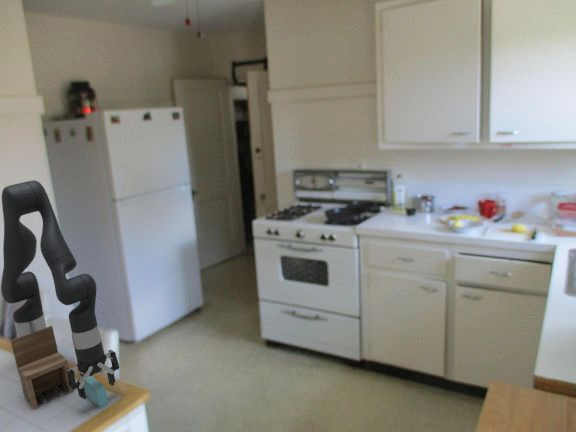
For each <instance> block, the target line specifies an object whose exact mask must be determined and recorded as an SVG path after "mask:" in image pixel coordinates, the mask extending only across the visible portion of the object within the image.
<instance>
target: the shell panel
mask: <svg viewBox="0 0 576 432" xmlns="http://www.w3.org/2000/svg"><path fill="white" fill-rule="evenodd" d="M79 374H80V373H78V374H77V375H78V376H79ZM83 387H84V389H85V394H86V397H88V398H89V399H90V400H91V401H92V402H93V404H95V405H96V406H97V407H98V408H99V409H102V408H105V407H106V406H108V405H109V400H108V396H107V395H108V394H107V390H106V386H104V385H103V384H102V383H101V382H100V381H99V380H98V379H96V378H95V377H94V375H92V376H89V377H88V379H87V381H85V383H84V386H83Z"/></svg>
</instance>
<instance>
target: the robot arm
mask: <svg viewBox="0 0 576 432" xmlns="http://www.w3.org/2000/svg"><path fill="white" fill-rule="evenodd" d="M52 206H53V205H52V203H51V201H50V198H49V196H48V193H47V191H46V189H45V187H44V186H43V185H42V184H41V183H40V181H37V180H35V179H34V180H29V181H24V182H19V183H14V184H11V185H7V186H4V188H3V189H2V191H1V207H2V217H3V249H2V250H3V251H2V253H3V254H2V255H3V267H2V268H3V269H2V274H1V280H0V281H1V282H0V291H1V296H2V298H3V300H4V301H5V302H6V303H8V304H16V303H20V302H23V301H25V302H24V303H23V304H22V305H21V306H20V307H18V308H17V309H16V310H15V311H14V312H13V314H12V316H13V321H14V325H15V326H14V327H15V329H16V334H17V338H19V337H21V336H24V335H27V334H30V333H32V332H35V331H38V330H41V329H43V328H46V327H47V324H46V319H45V314H44V311H43V304H42V303H43V302H42V300H41V293H40V292H41V291H40V286H39V282H38V279H37V276H36V275H35V273H33V271H30V270H29V271H26V269H27V268H28V267H29V266H30V265H31V264H32V262H33V261H34V259H35V257H36V254H37V242H38V241H37V237H36V235H35V234H34V233H33V232H32V230H31V229H29V227H27V226H26V225H24V224H23V223H22V222H21V220H20V219H21V217H22V216H24V215H28V214H33V213H36V212H39V214H40V216H41V221H42V230H41V237H40V242H39V245H40V246H39V247H40V252H41V255H42V257H43V259H44V261H45V263H46V265H47V266H48V268H49V270H50V273H51V276H52V281H53V284H54V290H55V296H56V299H57V300H58V302H60V303H61V304H62V305H65V306H71V305H74V304H76V303H78V302H79V303H78V305H76V307H74V308H73V309H71V311H70V312H68V321H69V325H70V330H71V338H72V345H73V349H74V353H75V356H76V361H77V362H76V363H77V365H76V366H74V367H69V368H67V375H68V382H69V386H70V387H71V388H72V389H73V390H74V391H75V390H76V389H77V393H78V396H79V397H80V398H81V399H82V400H86V399H87V395H86V394H85V389H84V387H83V386H84V383H85V381H87V379H88V377H89V376H94V375H95V374H98V373H100V372H101V371H102V370H104V371H105V372H106V375H107V379H108V383H109V385H110V386H112V387H113V386H114V385H115V383H116V378H115V377H116V376H115V372H116V371H118V370H119V369H120V364H119V360H118V357H117V353H116V352H115V351H114V350H113V349H109V350H108V352H106V353H105V351H104V345H103V341H102V335H101V331H100V328H99V326H98V321H97V315H96V299H97V284H96V280H95V278H94V277H93V276H92V275H90V274H88V273H82V274H78V275H76V276H74V277H71V278H67V276H66V275H67V274H68V273H70V272H71V271H73V270H74V269H75V268H76V267H77V259H76V258H75V257H74V255H73V253H72V251H71V249H70V247H69V246H68V243H67V242H66V240H65V238H64V236H63V233H62V231H61V228H60V225H59V223H58V219H57V217H56V214H55V211H54V209H53V207H52ZM107 358H108V359H107ZM107 360H109V361H110V363H111V366H108V365H106V361H107ZM78 371H79V373H78V374H79V375H78V376H77V377H78V378H77V380H76V375H77V372H78Z"/></svg>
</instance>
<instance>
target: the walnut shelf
mask: <svg viewBox="0 0 576 432" xmlns="http://www.w3.org/2000/svg"><path fill="white" fill-rule="evenodd" d="M56 341H57V340H56V336H55V332H54V328H53V325H50V326H46V328H43V329H41V330H38V331H35V332H32V333H30V334H27V335H24V336H21V337H19V338H18V337H17V338H16V337H15V338H13V339H11V340H10V345H11V349H12V353H13V357H14V360H15V364H16V368H17V373H18V377H19V382H20V384H21V387H22V392H23V396H24V399H25V400H26V402H27V403H28V405H30V407H31V408H32V409H33V410H36V409H38V408H39V406H38V401H37V398H38V399H39V400H40V402H41V403H42V404H43V405H45V404H47V403H48V400H46V398H45V397H44V395H42V394H41V393H43V392H46V391H48V390H50V389H53V390H54V391H55V393H57V395H59V397H63V396H65V395H64V392H63V391H62V390H61V389H60V388H59V387H58V386H59V385H62V386H63V387H64V388H65V389H66V390H67V392H69V393H70V394H71V393H73V392H74V391H75V390H73V389H72V388H71V387H70V386H69V382H68V375H67V368H70V366H69V362H68V359H67V358H66V357H64V355H62V354H61V353H60V352H59V350H58V349H59V348H58V346H57V342H56ZM36 397H37V398H36Z"/></svg>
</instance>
